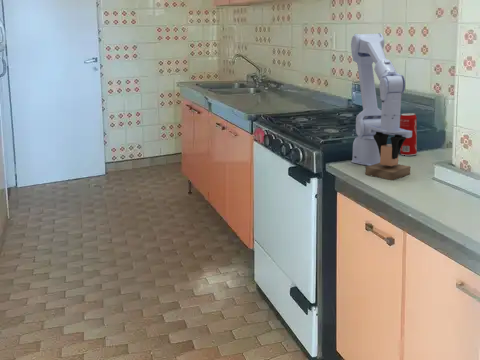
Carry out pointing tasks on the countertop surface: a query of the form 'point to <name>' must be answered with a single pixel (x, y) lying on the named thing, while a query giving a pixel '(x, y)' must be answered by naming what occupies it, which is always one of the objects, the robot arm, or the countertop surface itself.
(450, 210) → the countertop surface
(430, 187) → the countertop surface
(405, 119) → the beverage can
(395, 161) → the terracotta block
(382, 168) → the walnut base
